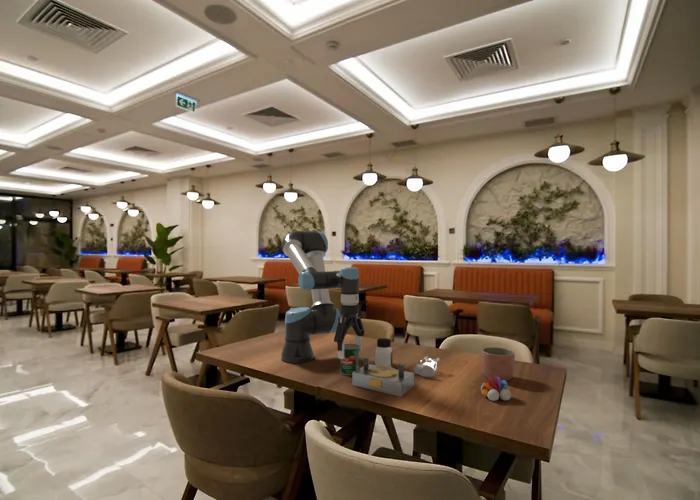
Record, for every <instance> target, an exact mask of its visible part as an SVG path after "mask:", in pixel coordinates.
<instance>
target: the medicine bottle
mask: <svg viewBox="0 0 700 500" xmlns="http://www.w3.org/2000/svg"><path fill="white" fill-rule="evenodd" d="M376 342H377V343H376V346H377V347H376V349H375V351H374V365H376V366H386V367H392V368H393V363H394V362H393V359H394V358H393V355H394V354H393V351H394V350H393V348H392V344H391V343H392V341H391V339H390V338H388V337H379V338H378V339H377V340H376Z"/></svg>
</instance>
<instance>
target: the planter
mask: <svg viewBox="0 0 700 500" xmlns="http://www.w3.org/2000/svg"><path fill="white" fill-rule="evenodd" d="M515 355H516V353H515V351H514V350H512V349H510V348H509V349H508V348H505V347H504V348H503V347H499V346H498V347H495V346H491V347H490V346H489V347H484V348H482V349H481V365H482V372H483V375H484V377H486V378H487V379H488V378H492V379H493V380H494V378H495V377H499V378H500V379H501V381H502V380H505V381H506V382H508V381H510V380H512V379H513V377H514V374H515V373H514V372H515V357H516V356H515Z"/></svg>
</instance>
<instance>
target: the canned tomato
mask: <svg viewBox="0 0 700 500" xmlns="http://www.w3.org/2000/svg"><path fill="white" fill-rule="evenodd" d="M359 355H360V353H359V346H358V345H356V344H355V343H344V359H339V361H340V362H339V373H340V374H341V375H343V376H352V372H354V371H355V370H357V369H359V368H360V367H359V366H360V365H359V364H360V363H359V362H360V361H359V360H360V359H359V358H360V356H359Z"/></svg>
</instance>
